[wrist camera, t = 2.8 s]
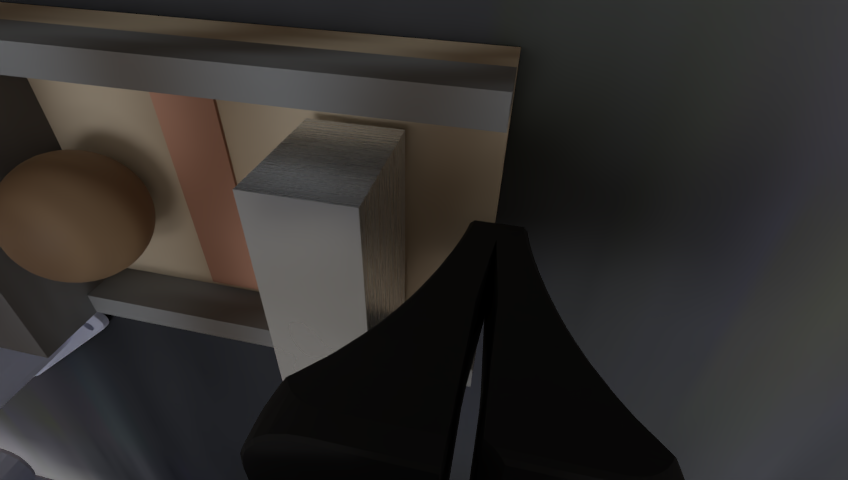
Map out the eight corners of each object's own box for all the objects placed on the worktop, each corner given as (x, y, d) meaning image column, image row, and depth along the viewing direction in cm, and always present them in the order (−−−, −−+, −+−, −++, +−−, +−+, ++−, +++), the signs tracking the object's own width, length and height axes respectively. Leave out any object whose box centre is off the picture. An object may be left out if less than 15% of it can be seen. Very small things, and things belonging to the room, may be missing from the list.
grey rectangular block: (405, 130, 11) (358, 207, 8) (405, 312, 14) (372, 406, 12) (306, 118, 11) (232, 189, 9) (330, 299, 15) (284, 386, 12)
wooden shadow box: (520, 47, 11) (502, 141, 7) (481, 314, 16) (459, 452, 12) (-16, 0, 13) (-260, 51, 9) (107, 249, 19) (-12, 348, 15)
